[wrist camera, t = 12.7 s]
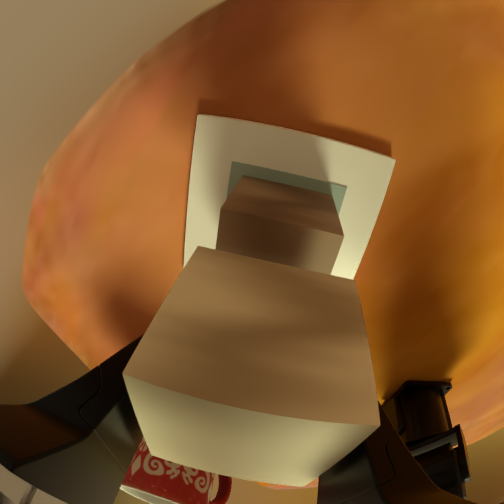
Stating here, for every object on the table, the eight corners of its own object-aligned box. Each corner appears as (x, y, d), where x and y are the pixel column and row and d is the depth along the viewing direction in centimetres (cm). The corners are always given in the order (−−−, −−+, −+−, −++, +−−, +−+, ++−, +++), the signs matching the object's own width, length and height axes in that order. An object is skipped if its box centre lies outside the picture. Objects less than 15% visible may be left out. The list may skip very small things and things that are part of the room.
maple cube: (355, 280, 9) (380, 425, 5) (310, 375, 11) (303, 486, 7) (198, 245, 9) (121, 373, 5) (192, 349, 12) (151, 455, 7)
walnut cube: (332, 195, 16) (344, 236, 11) (309, 270, 18) (310, 326, 14) (243, 175, 16) (220, 208, 12) (230, 252, 18) (209, 303, 14)
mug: (142, 380, 30) (97, 478, 18) (199, 366, 26) (155, 494, 15) (210, 432, 34) (186, 518, 23) (267, 425, 31) (250, 526, 19)
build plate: (391, 157, 15) (396, 160, 14) (336, 306, 20) (337, 314, 20) (202, 113, 15) (197, 114, 14) (186, 272, 21) (182, 279, 20)
